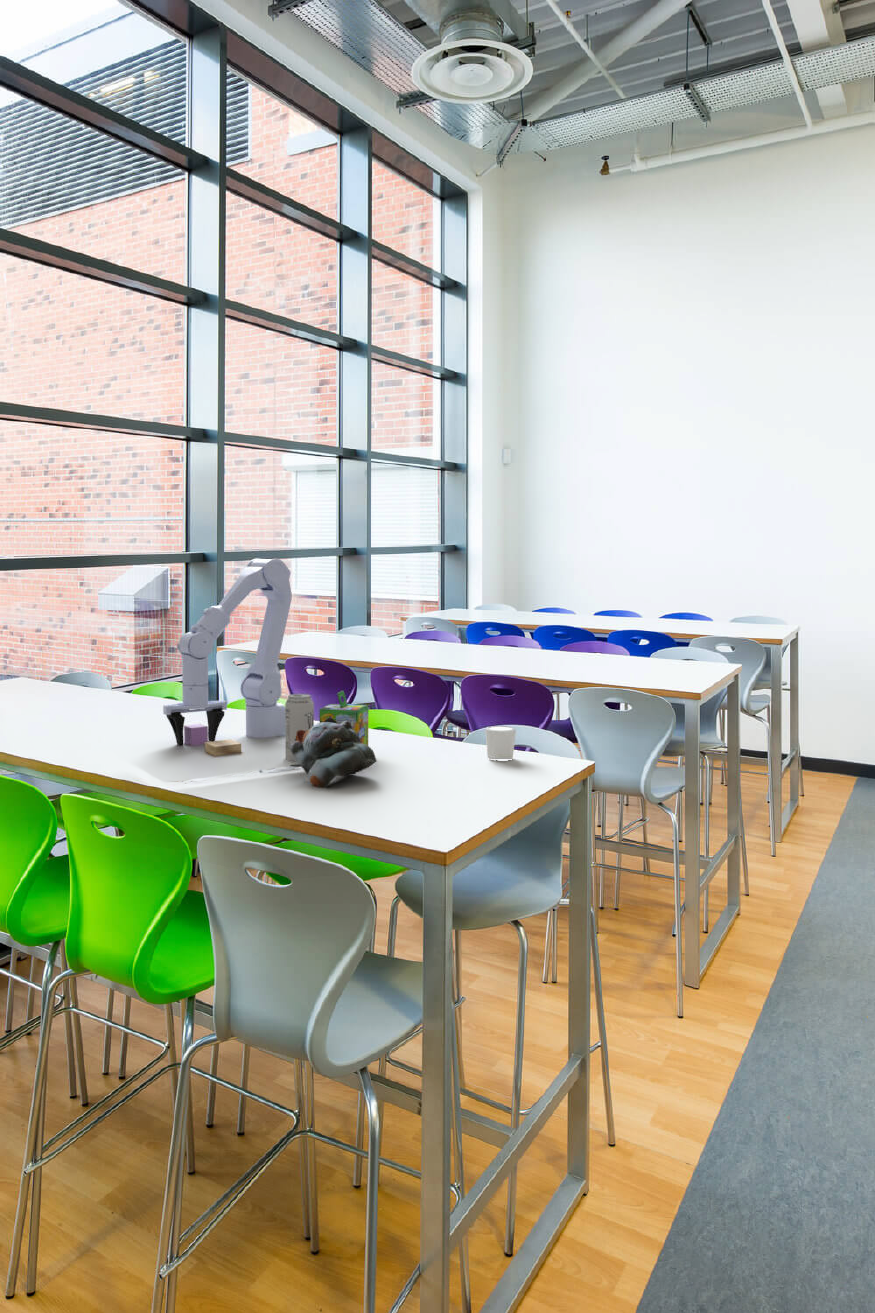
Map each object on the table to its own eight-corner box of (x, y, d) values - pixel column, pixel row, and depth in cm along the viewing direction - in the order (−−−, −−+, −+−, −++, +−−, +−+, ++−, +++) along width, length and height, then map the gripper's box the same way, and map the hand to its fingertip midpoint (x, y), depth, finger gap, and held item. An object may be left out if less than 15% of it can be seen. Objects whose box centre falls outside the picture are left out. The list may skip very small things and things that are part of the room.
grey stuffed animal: (314, 791, 170) (287, 724, 172) (305, 801, 181) (279, 738, 183) (385, 763, 176) (358, 698, 178) (371, 774, 187) (346, 713, 189)
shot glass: (479, 760, 200) (480, 729, 200) (492, 754, 207) (493, 724, 206) (508, 763, 197) (508, 732, 197) (520, 757, 203) (520, 727, 203)
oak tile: (230, 747, 202) (230, 739, 202) (241, 752, 197) (241, 743, 197) (204, 751, 199) (204, 742, 198) (215, 755, 194) (215, 746, 194)
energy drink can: (308, 768, 190) (308, 698, 188) (281, 766, 191) (281, 696, 189) (317, 762, 195) (317, 694, 194) (291, 760, 197) (291, 693, 195)
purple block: (200, 747, 210) (200, 723, 209) (207, 750, 207) (207, 726, 206) (184, 749, 207) (184, 725, 207) (191, 752, 204) (191, 728, 204)
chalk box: (358, 762, 196) (358, 695, 194) (318, 760, 198) (318, 693, 196) (369, 754, 205) (370, 690, 203) (331, 751, 207) (331, 688, 205)
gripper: (217, 680, 213) (218, 736, 214) (157, 684, 204) (158, 743, 206) (230, 683, 207) (230, 741, 209) (169, 688, 199) (170, 748, 200)
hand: (196, 742), depth 207 cm, fingers open, 7 cm apart
